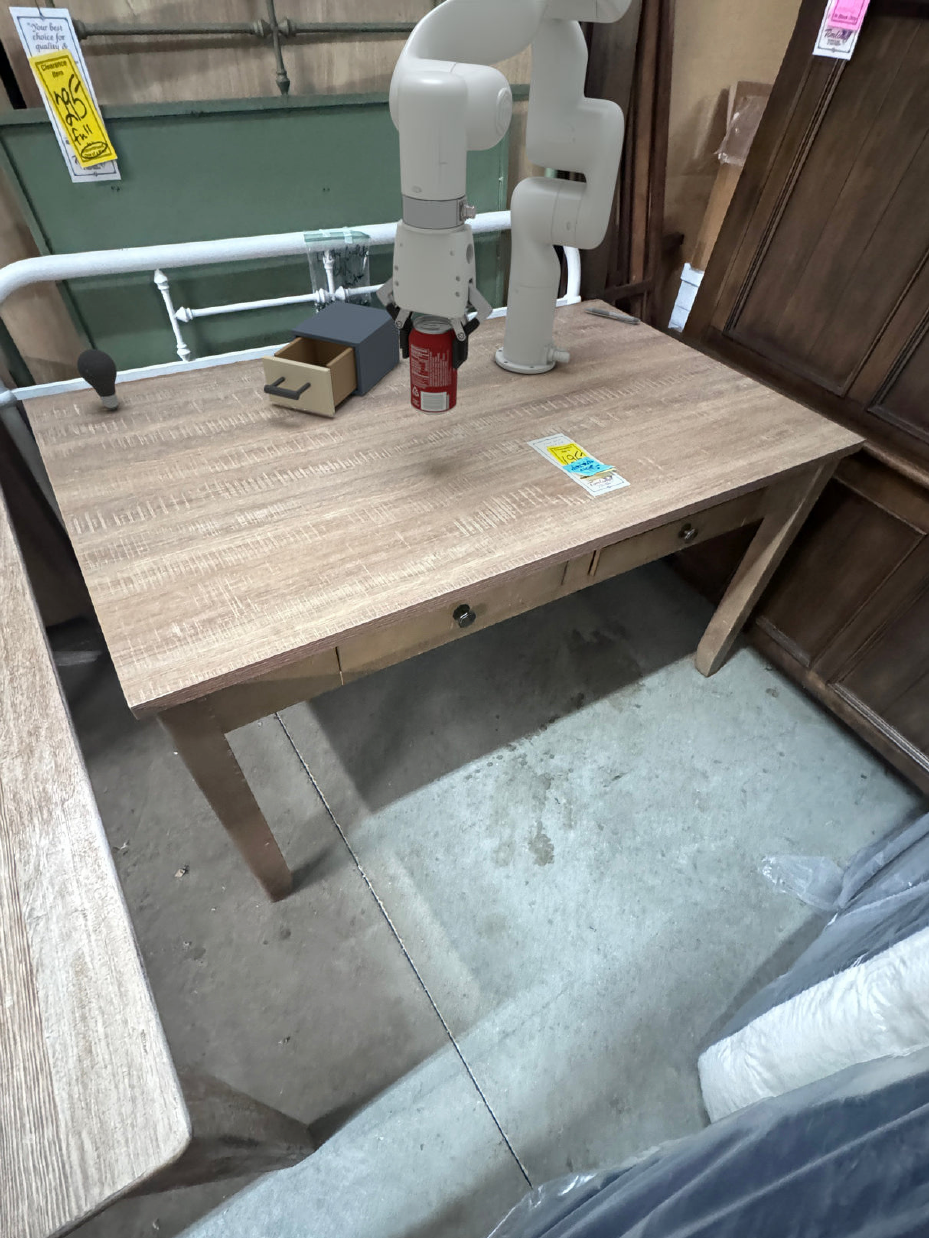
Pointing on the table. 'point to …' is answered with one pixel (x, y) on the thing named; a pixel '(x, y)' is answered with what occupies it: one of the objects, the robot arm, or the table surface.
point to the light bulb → (99, 375)
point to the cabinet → (357, 338)
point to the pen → (614, 315)
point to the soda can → (432, 365)
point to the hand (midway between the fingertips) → (433, 359)
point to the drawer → (311, 374)
